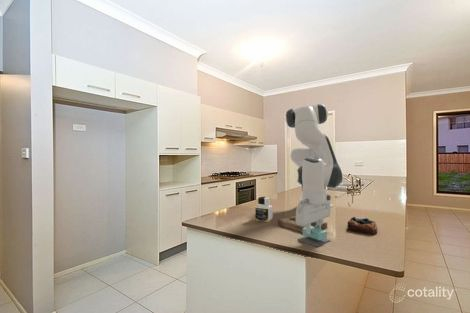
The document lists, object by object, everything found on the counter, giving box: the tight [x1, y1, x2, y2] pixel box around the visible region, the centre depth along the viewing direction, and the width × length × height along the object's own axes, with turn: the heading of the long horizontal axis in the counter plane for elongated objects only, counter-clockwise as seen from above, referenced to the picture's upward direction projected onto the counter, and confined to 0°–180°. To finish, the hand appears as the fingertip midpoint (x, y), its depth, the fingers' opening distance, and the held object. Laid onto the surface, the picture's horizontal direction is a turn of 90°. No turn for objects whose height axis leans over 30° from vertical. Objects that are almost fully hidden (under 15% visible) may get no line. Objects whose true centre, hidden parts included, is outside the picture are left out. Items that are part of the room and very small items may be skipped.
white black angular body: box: [254, 196, 273, 223], centre depth 127 cm, size 7×7×12 cm
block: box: [302, 226, 328, 240], centre depth 96 cm, size 5×8×2 cm, turn 32°
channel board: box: [277, 214, 328, 233], centre depth 115 cm, size 14×18×2 cm
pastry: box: [346, 216, 378, 235], centre depth 108 cm, size 11×12×6 cm
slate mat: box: [297, 235, 331, 247], centre depth 96 cm, size 9×9×1 cm
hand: (313, 231), depth 96 cm, fingers closed on block, 5 cm apart
